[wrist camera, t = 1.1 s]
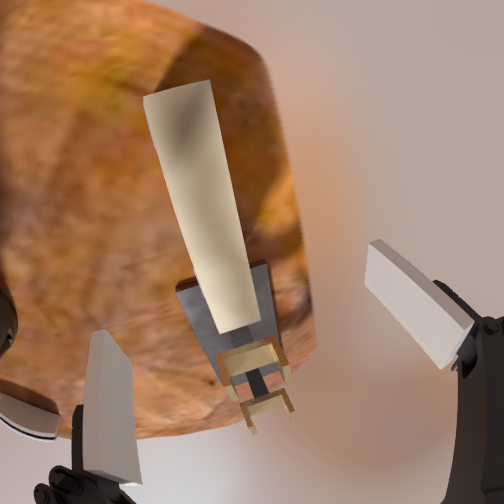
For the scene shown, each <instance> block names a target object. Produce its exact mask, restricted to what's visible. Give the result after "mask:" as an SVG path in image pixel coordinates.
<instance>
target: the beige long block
mask: <svg viewBox="0 0 504 504" xmlns="http://www.w3.org/2000/svg"><path fill="white" fill-rule="evenodd" d="M143 98H144V103H145V107H146V111H147V115H148V119H149V123H150V127H151V131H152V135H153V138H154V142H155V146H156V149H157V153H158V157H159V160H160V164H161V167H162V171H163V174H164V177H165V181H166V184H167V187H168V191H169V194H170V197H171V200H172V204H173V207H174V210H175V213H176V216H177V219H178V222H179V225H180V228H181V231H182V234H183V237H184V240H185V243H186V246H187V249H188V252H189V255H190V258H191V260H192V263H193V266H194V269H195V272H196V274H197V277H198V280H199V282H200V285H201V288H202V291H203V293H204V296H205V298H206V301H207V304H208V306H209V309H210V311H211V314H212V316H213V319H214V322H215V324H216V326H217V329H218V331H219V334H222V333H225V332H228V331H231V330H234V329H237V328H240V327H243V326H246V325H249V324H252V323H255V322H257V321H260V320H261V317H260V313H259V308H258V304H257V299H256V295H255V290H254V285H253V281H252V276H251V272H250V267H249V263H248V258H247V253H246V249H245V244H244V239H243V235H242V230H241V226H240V221H239V216H238V212H237V207H236V202H235V198H234V193H233V188H232V184H231V179H230V174H229V169H228V165H227V160H226V155H225V150H224V146H223V141H222V136H221V131H220V127H219V122H218V117H217V112H216V107H215V103H214V98H213V93H212V88H211V83H210V79H209V80H204V81H199V82H195V83H191V84H186V85H182V86H178V87H175V88H171V89H167V90H164V91H160V92H157V93H153V94H150V95H147V96H144V97H143Z"/></svg>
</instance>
